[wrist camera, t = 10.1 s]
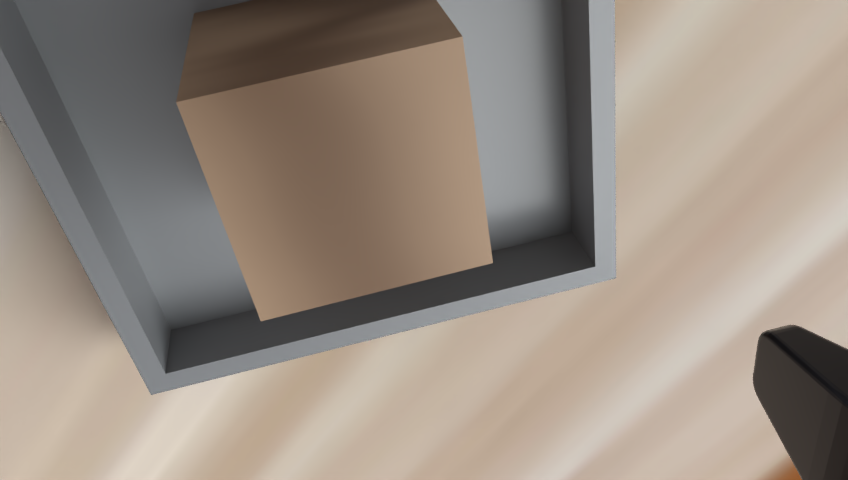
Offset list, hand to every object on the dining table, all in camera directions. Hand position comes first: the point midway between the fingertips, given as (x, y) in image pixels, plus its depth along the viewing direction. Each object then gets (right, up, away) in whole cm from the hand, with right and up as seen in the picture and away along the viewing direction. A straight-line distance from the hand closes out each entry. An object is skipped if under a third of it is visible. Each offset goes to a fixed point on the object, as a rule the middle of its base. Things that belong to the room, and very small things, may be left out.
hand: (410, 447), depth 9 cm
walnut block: (-2, +6, +9) cm, 11 cm away
